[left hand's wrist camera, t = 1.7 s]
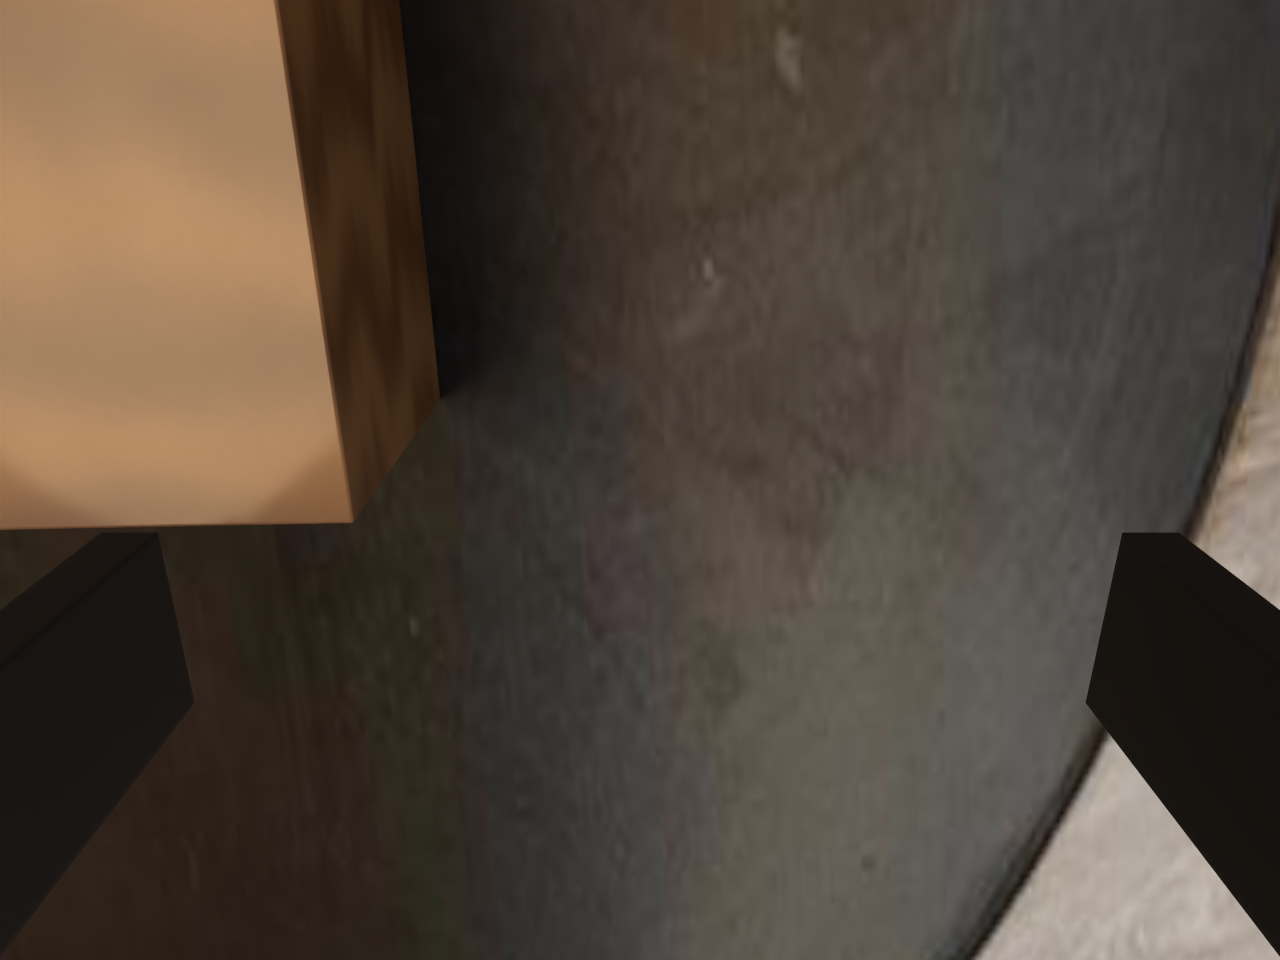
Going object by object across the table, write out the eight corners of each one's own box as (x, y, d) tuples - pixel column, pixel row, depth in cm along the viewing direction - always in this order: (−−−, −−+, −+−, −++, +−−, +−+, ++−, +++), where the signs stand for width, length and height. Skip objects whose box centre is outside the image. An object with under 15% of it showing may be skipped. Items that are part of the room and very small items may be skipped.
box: (33, -345, 24) (-379, -666, 14) (364, -351, 24) (179, -677, 14) (189, 404, 32) (-11, 531, 22) (440, 399, 32) (354, 523, 22)
